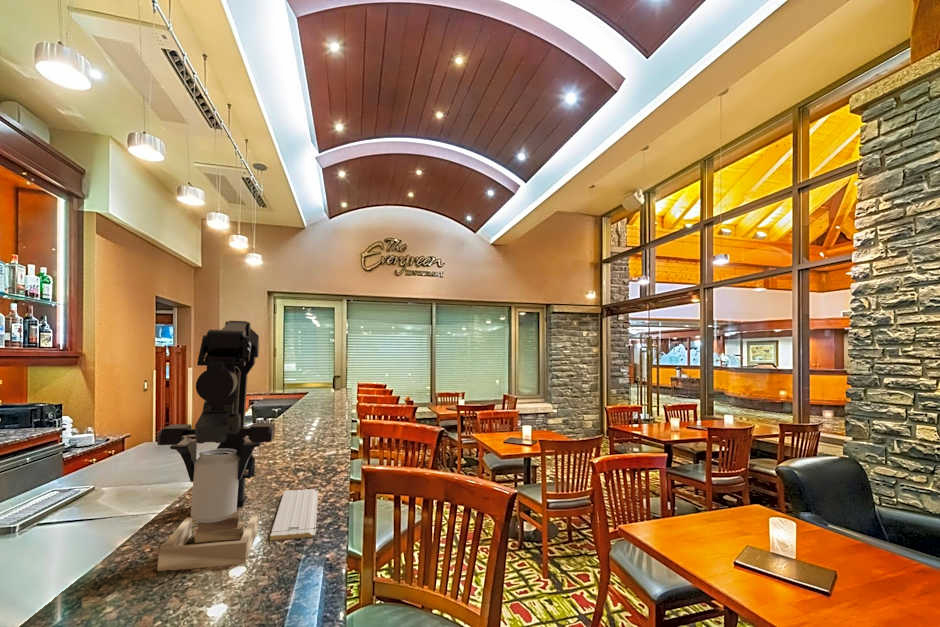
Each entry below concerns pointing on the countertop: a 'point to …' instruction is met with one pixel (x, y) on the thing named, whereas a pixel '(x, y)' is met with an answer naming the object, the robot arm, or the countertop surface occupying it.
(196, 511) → the can
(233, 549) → the rack
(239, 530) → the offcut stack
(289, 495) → the baseboard
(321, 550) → the countertop surface
